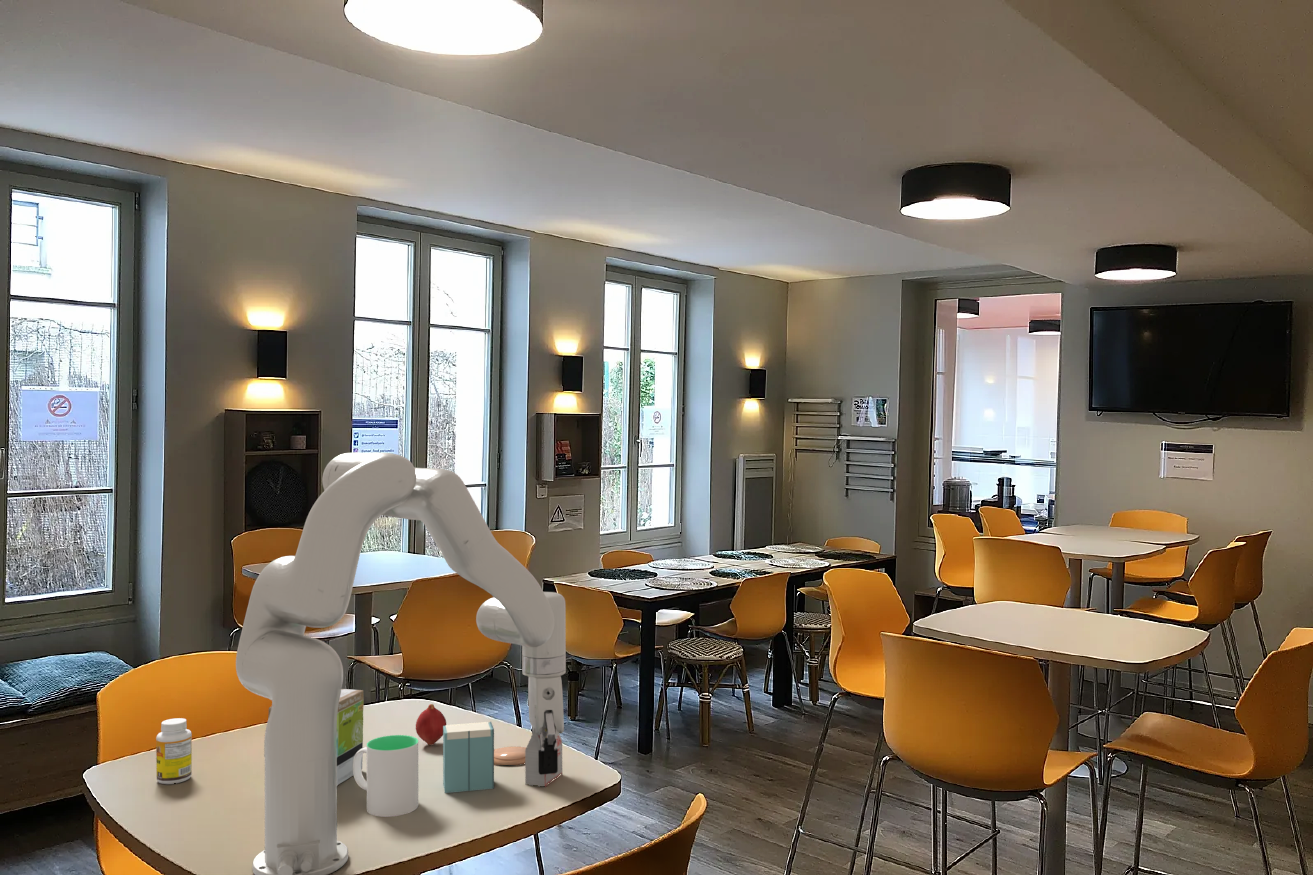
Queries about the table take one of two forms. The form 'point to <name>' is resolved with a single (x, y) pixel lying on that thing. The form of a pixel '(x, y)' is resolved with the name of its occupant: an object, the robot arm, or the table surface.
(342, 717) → the tea box
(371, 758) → the mug
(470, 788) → the teal and cream box
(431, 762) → the table surface
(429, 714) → the onion
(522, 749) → the saucer
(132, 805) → the table surface
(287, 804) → the robot arm
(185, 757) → the supplement bottle
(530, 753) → the white gable carton
